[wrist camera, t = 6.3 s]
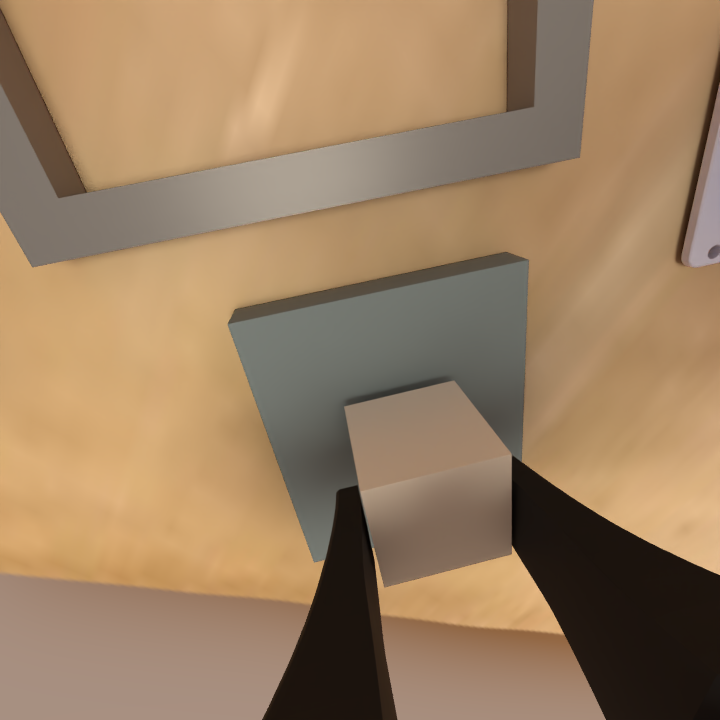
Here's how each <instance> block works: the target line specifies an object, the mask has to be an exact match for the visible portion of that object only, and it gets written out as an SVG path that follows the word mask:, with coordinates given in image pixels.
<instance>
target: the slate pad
mask: <svg viewBox="0 0 720 720" xmlns="http://www.w3.org/2000/svg"><path fill="white" fill-rule="evenodd" d="M528 268H529V260H528V259H525V258H522V257H519V256H516V255H513V254H510V253H507V252H504V253H500V254H495V255H490V256H485V257H481V258H476V259H471V260H467V261H462V262H457V263H452V264H448V265H443V266H438V267H434V268H429V269H424V270H419V271H415V272H410V273H405V274H401V275H396V276H391V277H386V278H382V279H377V280H372V281H368V282H363V283H358V284H353V285H349V286H344V287H339V288H335V289H330V290H325V291H320V292H316V293H311V294H306V295H302V296H297V297H292V298H287V299H283V300H278V301H273V302H268V303H264V304H259V305H254V306H250V307H245V308H240V309H235V311H234V313H233V315H232V317H231V319H230V320H229V322H228V327H229V330H230V332H231V335H232V338H233V341H234V343H235V346H236V349H237V352H238V354H239V357H240V360H241V363H242V365H243V368H244V371H245V374H246V376H247V379H248V382H249V385H250V387H251V390H252V393H253V396H254V398H255V401H256V404H257V407H258V409H259V412H260V415H261V418H262V420H263V423H264V426H265V429H266V431H267V434H268V437H269V440H270V442H271V445H272V448H273V451H274V453H275V456H276V459H277V462H278V464H279V467H280V470H281V473H282V475H283V478H284V481H285V484H286V486H287V489H288V492H289V495H290V497H291V500H292V503H293V506H294V508H295V511H296V514H297V517H298V519H299V522H300V525H301V528H302V530H303V533H304V536H305V539H306V541H307V544H308V547H309V550H310V552H311V555H312V558H313V561H314V562H318V561H322V560H325V558H326V554H327V550H328V545H329V541H330V536H331V532H332V526H333V520H334V514H335V505H336V492H337V491H338V490H339V489H343V488H347V487H351V486H356V485H358V489H359V493H360V488H359V483H358V477H357V472H356V467H355V462H354V456H353V451H352V446H351V440H350V435H349V430H348V425H347V419H346V414H345V409H344V406H348V405H353V404H357V403H361V402H365V401H369V400H374V399H378V398H382V397H386V396H390V395H395V394H399V393H403V392H407V391H412V390H416V389H420V388H424V387H428V386H433V385H437V384H441V383H445V382H449V381H455V382H456V383H457V385H458V386H459V387H460V388H461V390H462V391H463V392H464V394H465V395H466V396H467V397H468V399H469V400H470V401H471V403H472V404H473V405H474V406H475V408H476V409H477V410H478V411H479V413H480V414H481V415H482V417H483V418H484V419H485V420H486V422H487V423H488V424H489V426H490V427H491V428H492V429H493V431H494V432H495V433H496V435H497V436H498V437H499V438H500V440H501V441H502V442H503V444H504V445H505V446H506V447H507V449H508V450H509V451H510V452H511V454H512V455H513V456H514V457H516V458H517V459H518V460H520V461H521V462H522V438H523V410H524V381H525V353H526V325H527V296H528ZM360 498H361V502H362V506H363V510H364V514H365V518H366V522H367V526H368V531H369V536H370V541H371V546H372V548H374V544H373V540H372V536H371V532H370V528H369V524H368V520H367V517H366V513H365V509H364V505H363V501H362V497H361V493H360Z"/></svg>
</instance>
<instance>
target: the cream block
mask: <svg viewBox="0 0 720 720" xmlns="http://www.w3.org/2000/svg"><path fill="white" fill-rule="evenodd" d="M344 409H345V414H346V419H347V425H348V430H349V435H350V440H351V446H352V451H353V456H354V462H355V467H356V472H357V477H358V483H359V488H360V493H361V497H362V501H363V505H364V509H365V513H366V517H367V520H368V524H369V528H370V532H371V536H372V540H373V544H374V548H375V552H376V556H377V560H378V564H379V568H380V572H381V576H382V580H383V584H384V587H388V586H392V585H396V584H400V583H403V582H407V581H411V580H415V579H419V578H423V577H426V576H430V575H434V574H438V573H442V572H445V571H449V570H453V569H457V568H461V567H465V566H468V565H472V564H476V563H480V562H484V561H488V560H491V559H495V558H499V557H503V556H507V555H510V554H512V454H511V452H510V451H509V450H508V449H507V447H506V446H505V445H504V444H503V442H502V441H501V440H500V438H499V437H498V436H497V435H496V433H495V432H494V431H493V429H492V428H491V427H490V426H489V424H488V423H487V422H486V420H485V419H484V418H483V417H482V415H481V414H480V413H479V411H478V410H477V409H476V408H475V406H474V405H473V404H472V403H471V401H470V400H469V399H468V397H467V396H466V395H465V394H464V392H463V391H462V390H461V388H460V387H459V386H458V385H457V383H456V382H455V381H449V382H445V383H441V384H437V385H433V386H428V387H424V388H420V389H416V390H412V391H407V392H403V393H399V394H395V395H390V396H386V397H382V398H378V399H374V400H369V401H365V402H361V403H357V404H353V405H348V406H344Z"/></svg>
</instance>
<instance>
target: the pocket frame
mask: <svg viewBox="0 0 720 720" xmlns="http://www.w3.org/2000/svg"><path fill="white" fill-rule="evenodd" d="M593 2H594V0H508V83H507V112H505V113H500V114H495V115H490V116H485V117H479V118H474V119H469V120H464V121H459V122H453V123H448V124H443V125H438V126H433V127H427V128H422V129H417V130H412V131H406V132H401V133H396V134H391V135H386V136H380V137H375V138H370V139H365V140H360V141H354V142H349V143H344V144H339V145H334V146H328V147H323V148H318V149H313V150H308V151H302V152H297V153H292V154H287V155H282V156H276V157H271V158H266V159H261V160H256V161H250V162H245V163H240V164H235V165H229V166H224V167H219V168H214V169H209V170H203V171H198V172H193V173H188V174H183V175H177V176H172V177H167V178H162V179H157V180H151V181H146V182H141V183H136V184H131V185H125V186H120V187H115V188H110V189H105V190H99V191H94V192H89V193H86V191H85V189H84V187H83V185H82V183H81V180H80V178H79V176H78V174H77V172H76V170H75V168H74V165H73V163H72V161H71V159H70V157H69V155H68V153H67V151H66V148H65V146H64V144H63V142H62V140H61V138H60V136H59V134H58V131H57V129H56V127H55V125H54V123H53V121H52V119H51V116H50V114H49V112H48V110H47V108H46V106H45V104H44V102H43V99H42V97H41V95H40V93H39V91H38V89H37V87H36V85H35V82H34V80H33V78H32V76H31V74H30V72H29V70H28V68H27V65H26V63H25V61H24V59H23V57H22V55H21V53H20V50H19V48H18V46H17V44H16V42H15V40H14V38H13V36H12V33H11V31H10V29H9V27H8V25H7V23H6V21H5V19H4V16H3V14H2V12H1V10H0V212H1V214H2V216H3V217H4V219H5V221H6V223H7V224H8V226H9V228H10V229H11V231H12V233H13V235H14V236H15V238H16V240H17V242H18V243H19V245H20V247H21V248H22V250H23V252H24V254H25V255H26V257H27V259H28V261H29V262H30V264H31V266H32V267H37V266H42V265H47V264H51V263H56V262H61V261H66V260H71V259H76V258H81V257H86V256H91V255H96V254H101V253H106V252H111V251H116V250H121V249H126V248H131V247H136V246H141V245H146V244H151V243H156V242H161V241H166V240H171V239H176V238H181V237H186V236H191V235H196V234H201V233H206V232H211V231H216V230H221V229H226V228H231V227H236V226H241V225H246V224H251V223H256V222H261V221H266V220H271V219H276V218H281V217H286V216H291V215H296V214H301V213H306V212H311V211H316V210H321V209H326V208H331V207H336V206H341V205H346V204H351V203H356V202H361V201H366V200H371V199H375V198H380V197H385V196H390V195H395V194H400V193H405V192H410V191H415V190H420V189H425V188H430V187H435V186H440V185H445V184H450V183H455V182H460V181H465V180H470V179H475V178H480V177H485V176H490V175H495V174H500V173H505V172H510V171H515V170H520V169H525V168H530V167H535V166H540V165H545V164H550V163H555V162H560V161H565V160H570V159H575V158H580V151H581V140H582V128H583V117H584V105H585V94H586V82H587V71H588V60H589V48H590V37H591V25H592V14H593Z"/></svg>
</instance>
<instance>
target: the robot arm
mask: <svg viewBox="0 0 720 720" xmlns="http://www.w3.org/2000/svg"><path fill="white" fill-rule="evenodd" d="M709 250H710V251H709ZM708 252H709V253H708ZM681 261H682V263H683V264H684V265H686V266H689V267H702V266H706V265H711V264H715V263H720V84H719V88H718V93H717V97H716V102H715V106H714V111H713V115H712V120H711V124H710V129H709V133H708V138H707V142H706V147H705V151H704V156H703V161H702V165H701V170H700V174H699V179H698V183H697V188H696V192H695V197H694V201H693V206H692V210H691V215H690V219H689V224H688V228H687V233H686V237H685V242H684V246H683V251H682V256H681ZM512 546H513V548H514V549H515V551H516V552H517V554H518V556H519V557H520V559H521V560H522V562H523V564H524V565H525V567H526V568H527V570H528V572H529V573H530V575H531V576H532V578H533V580H534V581H535V583H536V585H537V586H538V588H539V589H540V591H541V593H542V594H543V596H544V597H545V599H546V601H547V603H548V604H549V606H550V608H551V610H552V611H553V613H554V615H555V617H556V619H557V621H558V623H559V625H560V627H561V629H562V631H563V633H564V635H565V637H566V638H567V640H568V642H569V644H570V646H571V648H572V650H573V652H574V654H575V656H576V658H577V660H578V662H579V664H580V666H581V669H582V671H583V673H584V675H585V676H586V679H587V681H588V683H589V685H590V687H591V689H592V691H593V693H594V695H595V697H596V699H597V702H598V704H599V706H600V708H601V710H602V712H603V714H604V716H605V718H606V720H720V575H718V574H716V573H713V572H711V571H709V570H706V569H704V568H702V567H700V566H697V565H695V564H693V563H691V562H689V561H686V560H684V559H682V558H680V557H678V556H676V555H674V554H672V553H670V552H667V551H665V550H663V549H661V548H659V547H657V546H655V545H653V544H651V543H649V542H647V541H645V540H643V539H641V538H639V537H638V536H636V535H634V534H632V533H630V532H628V531H626V530H625V529H623V528H621V527H619V526H617V525H615V524H614V523H612V522H610V521H609V520H607V519H605V518H604V517H602V516H600V515H599V514H597V513H595V512H594V511H592V510H591V509H589V508H587V507H586V506H584V505H583V504H581V503H579V502H578V501H576V500H575V499H573V498H572V497H570V496H569V495H567V494H566V493H564V492H563V491H562V490H560V489H559V488H557V487H556V486H554V485H553V484H551V483H550V482H548V481H547V480H546V479H544V478H543V477H541V476H540V475H539V474H537V473H536V472H535V471H533V470H532V469H530V468H529V467H528V466H526V465H525V464H524V463H522V462H521V461H520V460H518V459H517V458H516V457H514V456H513V455H512ZM262 720H397V716H396V710H395V705H394V699H393V694H392V688H391V683H390V678H389V672H388V667H387V662H386V656H385V649H384V642H383V634H382V625H381V615H380V606H379V597H378V588H377V579H376V570H375V561H374V556H373V551H372V546H371V541H370V536H369V531H368V526H367V522H366V518H365V514H364V510H363V506H362V502H361V498H360V493H359V489H358V485H356V486H351V487H347V488H343V489H339V490H338V491H337V492H336V505H335V514H334V520H333V526H332V532H331V536H330V541H329V545H328V550H327V554H326V558H325V562H324V566H323V569H322V573H321V576H320V580H319V583H318V587H317V590H316V593H315V596H314V599H313V602H312V605H311V608H310V611H309V614H308V616H307V619H306V622H305V625H304V627H303V630H302V632H301V635H300V638H299V640H298V643H297V645H296V648H295V650H294V652H293V655H292V657H291V659H290V662H289V664H288V667H287V668H286V671H285V673H284V675H283V677H282V679H281V681H280V683H279V686H278V688H277V690H276V692H275V694H274V696H273V698H272V701H271V703H270V705H269V707H268V709H267V711H266V713H265V715H264V717H263V719H262Z"/></svg>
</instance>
